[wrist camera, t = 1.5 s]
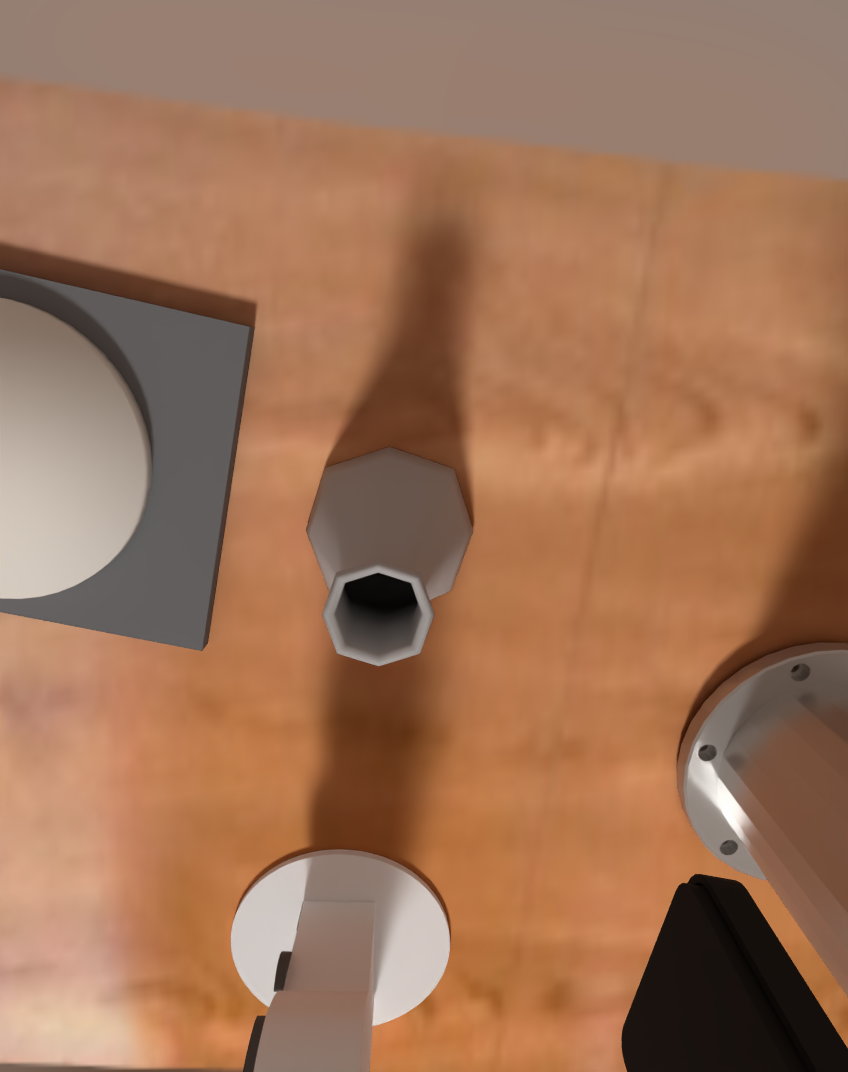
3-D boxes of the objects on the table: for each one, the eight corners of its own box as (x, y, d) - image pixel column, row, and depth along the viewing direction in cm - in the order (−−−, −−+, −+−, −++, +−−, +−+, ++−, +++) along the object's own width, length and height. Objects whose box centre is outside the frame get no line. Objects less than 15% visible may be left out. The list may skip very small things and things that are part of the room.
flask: (303, 445, 27) (243, 490, 17) (475, 446, 27) (510, 492, 17) (309, 606, 29) (258, 728, 19) (470, 606, 29) (499, 728, 19)
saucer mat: (254, 327, 26) (244, 325, 24) (207, 643, 29) (196, 658, 28) (-217, 219, 24) (-260, 209, 23) (-207, 562, 28) (-243, 574, 26)
